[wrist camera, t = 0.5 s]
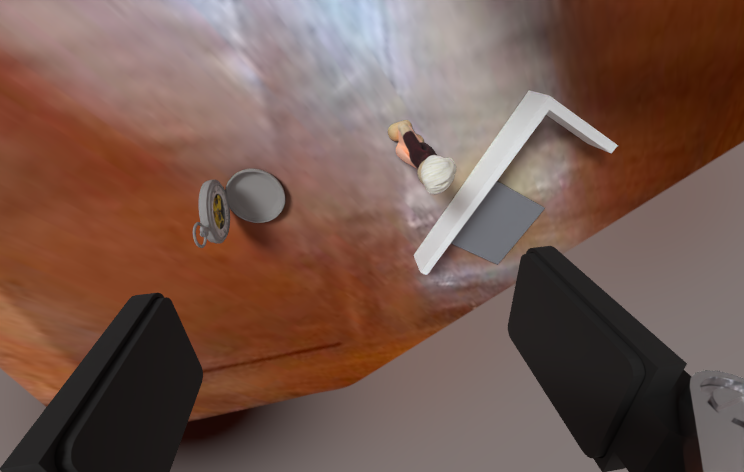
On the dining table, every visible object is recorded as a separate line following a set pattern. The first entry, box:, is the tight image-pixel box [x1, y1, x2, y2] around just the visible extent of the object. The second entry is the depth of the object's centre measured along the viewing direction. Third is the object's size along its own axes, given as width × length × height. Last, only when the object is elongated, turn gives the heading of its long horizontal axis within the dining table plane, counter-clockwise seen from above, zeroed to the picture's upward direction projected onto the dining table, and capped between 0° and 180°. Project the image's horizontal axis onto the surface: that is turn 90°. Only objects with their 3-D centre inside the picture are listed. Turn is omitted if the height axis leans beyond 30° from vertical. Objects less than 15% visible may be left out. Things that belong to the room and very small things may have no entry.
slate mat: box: [451, 181, 545, 265], centre depth 46 cm, size 10×10×1 cm
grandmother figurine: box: [388, 120, 456, 194], centre depth 33 cm, size 8×4×13 cm, turn 50°
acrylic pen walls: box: [414, 90, 618, 275], centre depth 42 cm, size 24×11×4 cm, turn 151°
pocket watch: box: [193, 169, 285, 248], centre depth 35 cm, size 8×8×10 cm
